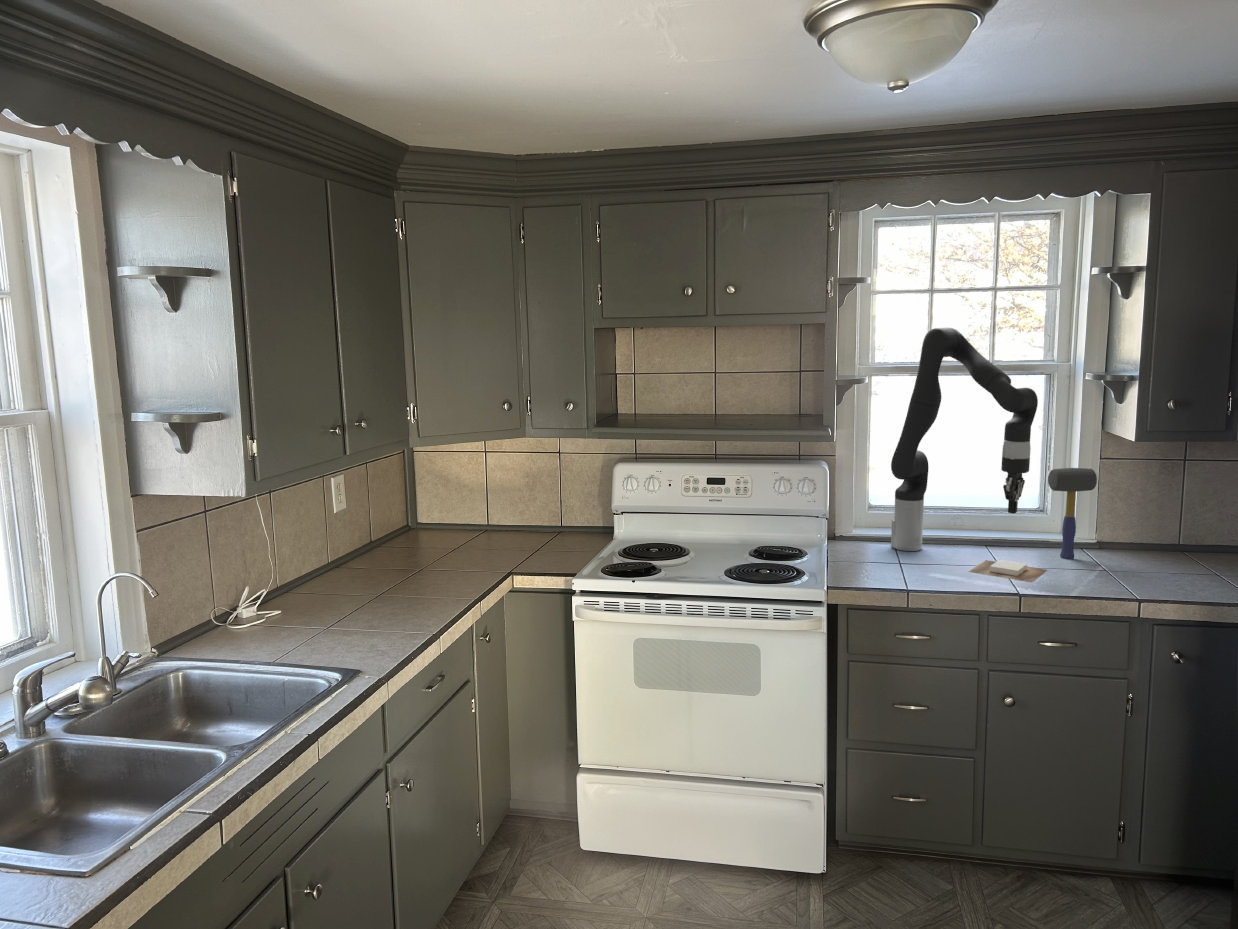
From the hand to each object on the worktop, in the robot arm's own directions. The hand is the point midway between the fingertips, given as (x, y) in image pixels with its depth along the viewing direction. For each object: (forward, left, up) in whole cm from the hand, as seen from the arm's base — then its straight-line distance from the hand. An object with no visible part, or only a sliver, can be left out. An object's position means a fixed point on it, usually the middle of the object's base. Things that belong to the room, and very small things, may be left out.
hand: (1012, 512), depth 255 cm
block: (0, +4, -17) cm, 17 cm away
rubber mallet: (+10, +25, -19) cm, 33 cm away
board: (0, -1, -19) cm, 19 cm away
